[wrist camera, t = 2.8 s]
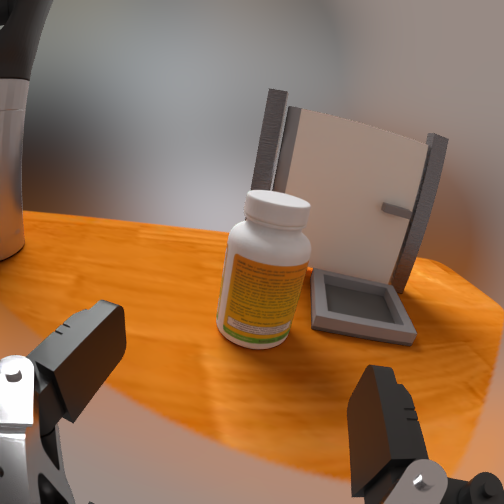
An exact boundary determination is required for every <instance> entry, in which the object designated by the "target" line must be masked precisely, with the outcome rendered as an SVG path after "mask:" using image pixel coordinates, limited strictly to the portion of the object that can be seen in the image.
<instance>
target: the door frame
mask: <svg viewBox="0 0 504 504" xmlns="http://www.w3.org/2000/svg"><path fill="white" fill-rule="evenodd" d="M287 98H288V92H287V91H281V90H275V89H269V92H268V98H267V103H266V108H265V114H264V119H263V124H262V130H261V135H260V141H259V146H258V152H257V157H256V163H255V168H254V174H253V179H252V185H251V190H267V191H270V188H271V183H272V177H273V172H274V167H275V161H276V157H277V151H278V146H279V141H280V136H281V130H282V125H283V120H284V114H285V109H286V104H287ZM426 144H427V145H428V150H427V154H426V159H425V163H424V168H423V172H422V176H421V180H420V184H419V188H418V192H417V196H416V199H415V203H414V207H413V210H412V215H411V218H410V220H409V224H408V227H407V230H406V233H405V237H404V240H403V243H402V246H401V249H400V252H399V255H398V258H397V261H396V263H395V266H394V269H393V272H392V275H391V277H390V280H389V283H388V285H393V287H394V289H395V291H396V293H401V294H402V293H403V291H404V288H405V286H406V283H407V281H408V278H409V276H410V273H411V270H412V268H413V265H414V262H415V259H416V257H417V254H418V251H419V248H420V245H421V242H422V239H423V236H424V233H425V230H426V227H427V223H428V220H429V217H430V214H431V210H432V207H433V203H434V199H435V196H436V192H437V188H438V184H439V180H440V176H441V172H442V167H443V163H444V159H445V154H446V149H447V144H448V139H447V138H445V137H442V136H440V135H437V134H435V133H429V134H428V136H427V141H426ZM251 190H250V191H251ZM246 219H247V217H246ZM246 219H245V221H246Z"/></svg>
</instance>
